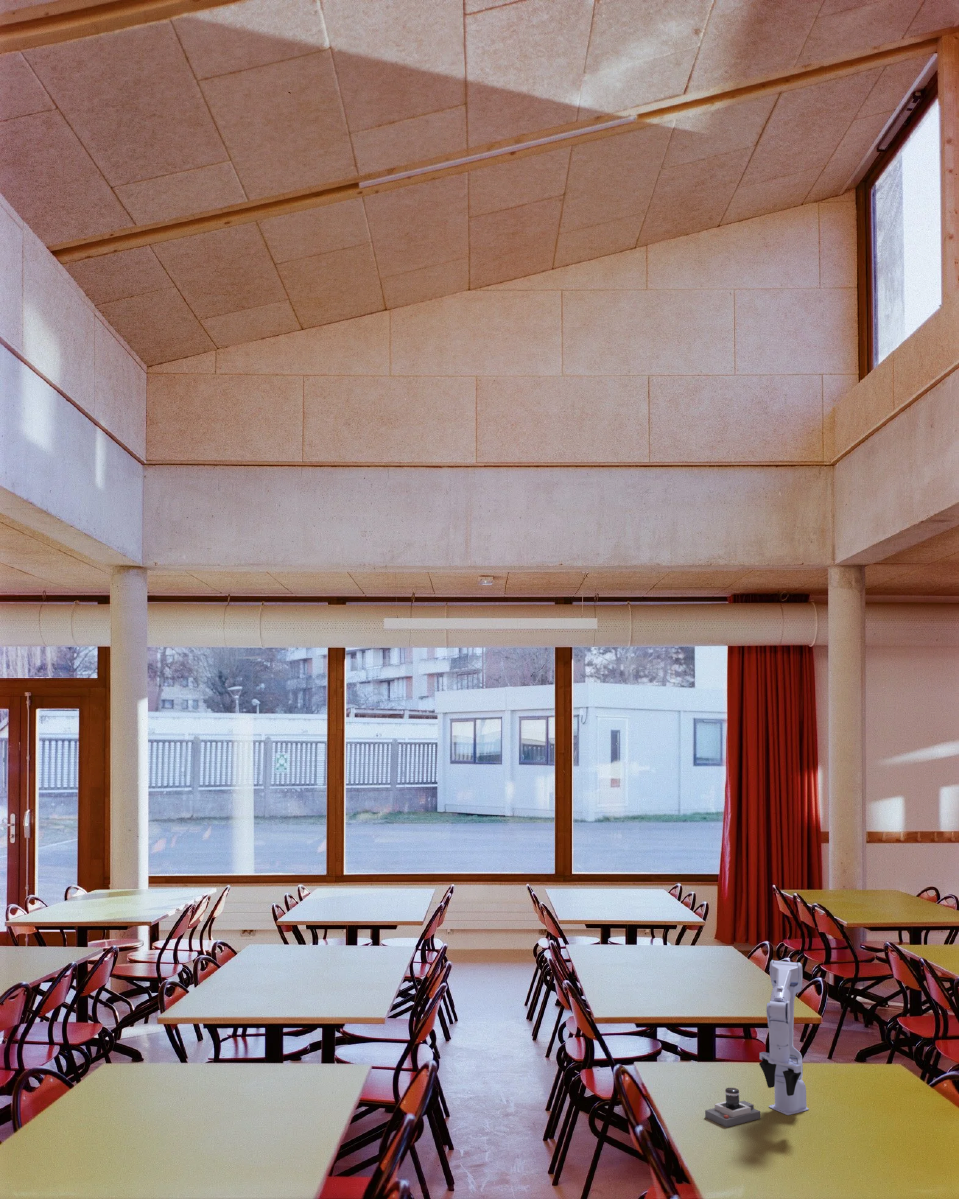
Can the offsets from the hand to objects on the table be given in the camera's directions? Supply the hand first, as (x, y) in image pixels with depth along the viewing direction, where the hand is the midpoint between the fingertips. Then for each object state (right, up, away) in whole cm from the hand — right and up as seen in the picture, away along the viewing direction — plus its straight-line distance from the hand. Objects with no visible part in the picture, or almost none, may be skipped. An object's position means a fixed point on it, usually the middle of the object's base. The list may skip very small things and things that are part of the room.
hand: (780, 1091), depth 302 cm
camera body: (-13, -11, +5) cm, 17 cm away
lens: (-13, -9, +5) cm, 16 cm away
